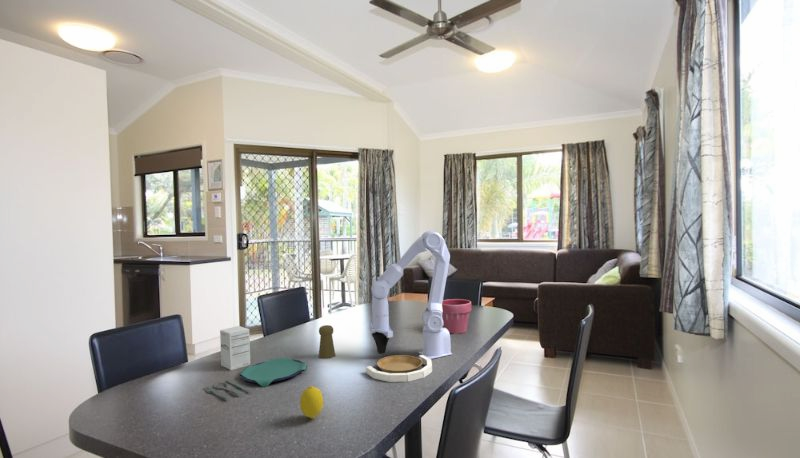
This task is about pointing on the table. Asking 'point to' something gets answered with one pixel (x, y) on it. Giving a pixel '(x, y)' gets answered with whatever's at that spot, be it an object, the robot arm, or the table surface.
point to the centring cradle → (402, 376)
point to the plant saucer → (399, 364)
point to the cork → (326, 342)
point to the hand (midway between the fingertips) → (381, 353)
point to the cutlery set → (264, 374)
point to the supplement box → (235, 347)
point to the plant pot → (456, 315)
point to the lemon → (311, 402)
